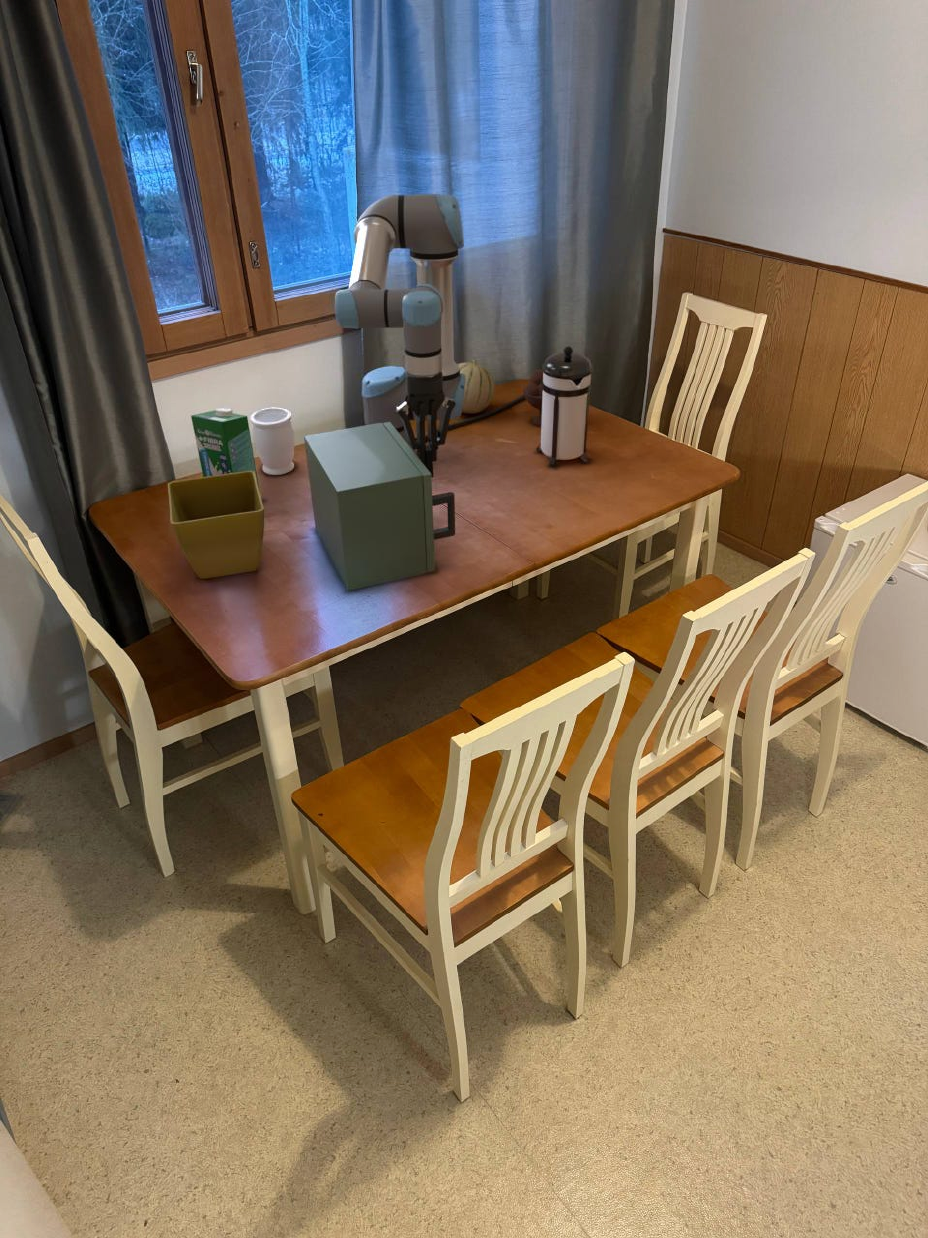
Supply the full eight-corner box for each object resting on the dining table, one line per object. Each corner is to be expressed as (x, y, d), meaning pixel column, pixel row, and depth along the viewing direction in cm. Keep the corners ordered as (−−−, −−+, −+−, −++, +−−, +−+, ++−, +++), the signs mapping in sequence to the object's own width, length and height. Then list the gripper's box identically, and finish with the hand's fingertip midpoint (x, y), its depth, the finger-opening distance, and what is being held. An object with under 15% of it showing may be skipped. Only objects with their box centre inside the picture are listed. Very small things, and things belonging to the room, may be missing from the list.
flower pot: (275, 576, 203) (264, 509, 194) (186, 591, 199) (170, 523, 189) (264, 533, 218) (254, 469, 208) (181, 547, 214) (167, 482, 204)
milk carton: (261, 500, 231) (246, 406, 216) (239, 517, 225) (222, 421, 210) (231, 494, 234) (214, 400, 220) (209, 510, 228) (190, 414, 213)
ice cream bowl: (518, 426, 264) (519, 376, 255) (530, 411, 273) (532, 362, 264) (553, 432, 261) (556, 381, 252) (565, 416, 269) (567, 366, 260)
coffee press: (601, 450, 251) (610, 341, 234) (574, 473, 240) (581, 361, 223) (545, 436, 259) (549, 329, 241) (516, 458, 248) (519, 348, 230)
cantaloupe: (440, 420, 268) (438, 370, 260) (449, 400, 280) (448, 351, 271) (490, 423, 266) (491, 373, 257) (497, 402, 278) (498, 354, 269)
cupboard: (388, 514, 225) (381, 422, 211) (426, 573, 204) (422, 475, 189) (315, 529, 220) (303, 435, 205) (347, 591, 198) (337, 491, 184)
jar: (290, 479, 240) (282, 425, 231) (252, 475, 242) (243, 422, 233) (303, 460, 249) (296, 408, 240) (267, 457, 250) (259, 405, 242)
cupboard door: (418, 507, 227) (414, 417, 213) (459, 565, 206) (457, 468, 192) (388, 513, 225) (382, 422, 211) (427, 572, 204) (423, 475, 190)
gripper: (447, 360, 194) (450, 462, 208) (388, 369, 191) (395, 472, 205) (460, 373, 188) (462, 477, 202) (398, 382, 185) (405, 487, 199)
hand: (428, 475), depth 203 cm, fingers closed
